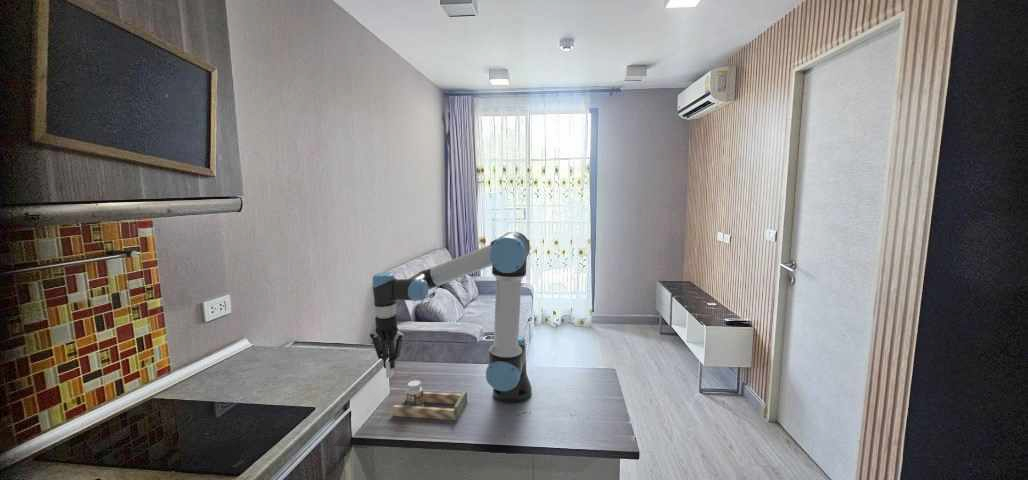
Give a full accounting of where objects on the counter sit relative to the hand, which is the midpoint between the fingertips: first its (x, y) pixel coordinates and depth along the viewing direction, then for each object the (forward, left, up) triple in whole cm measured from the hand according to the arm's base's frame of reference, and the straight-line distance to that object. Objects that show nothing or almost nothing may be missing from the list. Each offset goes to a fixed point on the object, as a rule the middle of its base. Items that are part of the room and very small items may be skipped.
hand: (390, 376), depth 148 cm
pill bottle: (-9, 0, -12) cm, 16 cm away
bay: (-15, 0, -12) cm, 20 cm away
